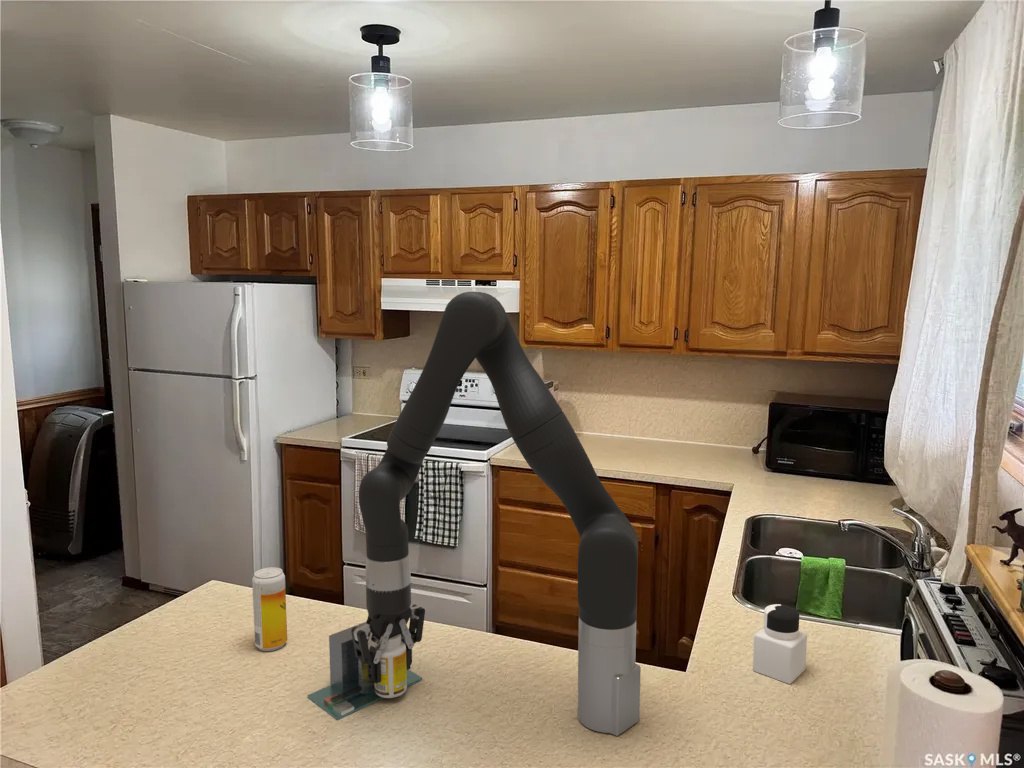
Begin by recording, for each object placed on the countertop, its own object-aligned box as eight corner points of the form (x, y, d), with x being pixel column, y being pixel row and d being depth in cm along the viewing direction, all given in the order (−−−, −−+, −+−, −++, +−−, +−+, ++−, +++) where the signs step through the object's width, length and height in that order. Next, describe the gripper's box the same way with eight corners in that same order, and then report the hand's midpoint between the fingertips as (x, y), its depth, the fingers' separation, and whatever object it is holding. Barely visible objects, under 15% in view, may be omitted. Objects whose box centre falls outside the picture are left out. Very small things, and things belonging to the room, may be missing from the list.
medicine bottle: (805, 670, 133) (809, 608, 132) (790, 685, 128) (793, 620, 126) (768, 657, 138) (771, 597, 136) (751, 671, 133) (754, 608, 131)
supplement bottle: (407, 681, 127) (406, 626, 126) (406, 698, 122) (405, 641, 121) (375, 683, 127) (374, 627, 126) (372, 700, 121) (371, 642, 120)
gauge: (422, 679, 130) (421, 629, 128) (337, 720, 117) (335, 664, 116) (391, 661, 136) (390, 612, 135) (307, 697, 124) (305, 644, 123)
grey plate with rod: (400, 676, 129) (399, 635, 128) (333, 706, 120) (332, 662, 119) (374, 660, 135) (373, 621, 134) (308, 688, 125) (307, 646, 124)
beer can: (294, 642, 143) (291, 570, 142) (269, 655, 138) (265, 580, 136) (273, 635, 147) (270, 564, 145) (248, 647, 142) (245, 574, 140)
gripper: (364, 599, 114) (367, 699, 116) (435, 574, 124) (437, 667, 126) (339, 586, 120) (342, 682, 122) (408, 563, 130) (410, 652, 132)
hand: (390, 674), depth 124 cm, fingers closed on supplement bottle, 5 cm apart
